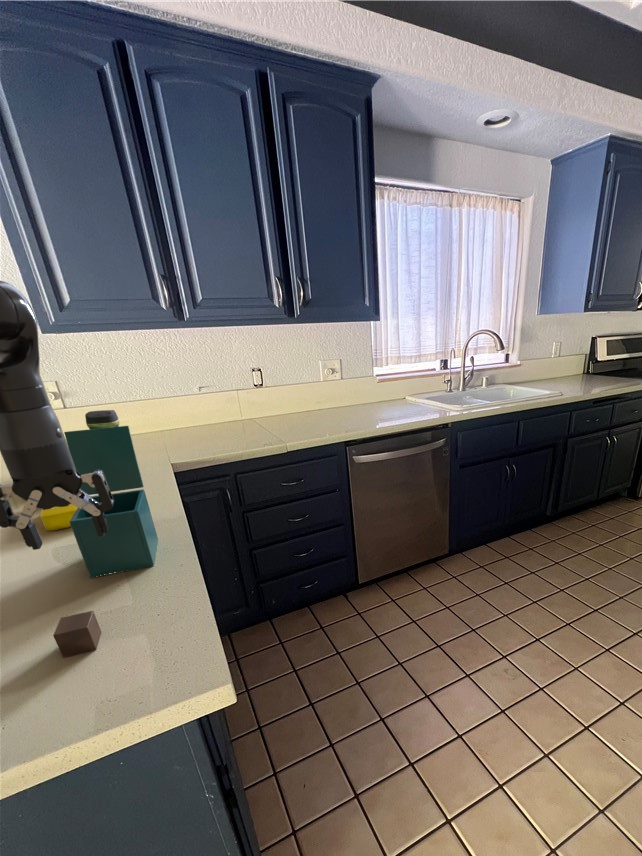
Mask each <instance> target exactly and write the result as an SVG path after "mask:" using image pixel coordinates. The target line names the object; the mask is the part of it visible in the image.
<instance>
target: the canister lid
mask: <svg viewBox="0 0 642 856" xmlns="http://www.w3.org/2000/svg"><path fill="white" fill-rule="evenodd" d="M63 434H64V437H65V439H66V440H67V444H68V447H69V451H70V453H71V456H72V459H73V462H74V465H75V468H76V470H77V471H78V472H79V473H80V474H81V475H83V474H88V473H93V472H94V471H95V470H97V469H99V470H102V471H103V474H104V476H105V478H106V481H107V483H108V486H109V488H110V491H111V492H112V493H113V492H122V491H127V490H136V489H143V488H144V482H143V477H142V474H141V470H140V466H139V462H138V458H137V454H136V450H135V446H134V441H133V438H132V433H131V430H130V425H119V427H109V428H99V429H89V428H88V429H79V430H69V431H63ZM80 489H81V490H82V491H84V492H85V493H87V494H88V495H93V494H98V493H97V490H96V488H95V487H94V488H93V487H91V486H90V485H89V484H88V483H86V482H83V484H82V486H81V488H80Z"/></svg>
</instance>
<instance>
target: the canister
mask: <svg viewBox="0 0 642 856" xmlns="http://www.w3.org/2000/svg"><path fill="white" fill-rule="evenodd" d="M112 496H113V498H114V504H113V507H112V509H111V510H107V511H105V512H104V514H105V517H106V520H107V523H108V530H107V533H105V536H104V537H98V534H97V531H96V528H95V526H94V523H93V520H92V514H90V513H89V512H87V511H85V510H84V509H80V508H77V510H76V512H75V513H74V515H73V517H72V518H71V520H70V525H71V527H70V528H71V530H72V533H73V536H74V538H75V540H76V543H77V547H78V549H79V551H80V554H81V556H82V557H81V558H82V559H83V562H84V564H85V567H86V570H87V572H88V575H89V577H90V579H93V578H92V577H95V578H97V577H96V576H100V575H104V574H109V573H114V572H120V573H122V572H121V571H125V572H127V571H126V570H130V571H133V570H132V569H135V570H139V569H138V568H140V569H144V567H145V568H150V567H154V566H155V561H156V555H157V549H158V543H159V537H158V534H157V530H156V527H155V524H154V523H155V522H154V519H153V516H152V512H151V508H150V506H149V502H148V498H147V494H146V491H145V489H144V488H141V489H134V490H129V491H120V492H115V493H112ZM91 498H92V499H94V500H95V501H97V502H98V503H100V502H101V500H100V498H99V496H93V497H91ZM149 566H150V567H149ZM100 577H101V576H100Z"/></svg>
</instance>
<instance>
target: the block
mask: <svg viewBox="0 0 642 856" xmlns="http://www.w3.org/2000/svg"><path fill="white" fill-rule="evenodd" d="M56 625H57V626H56V627H55V631H54V632H53V635H52V637H53V639H54V640H55V643H56V645H57V647H58V649H59V652H60V654H61V656H62V658H63V659H65V658H68V657H72V656H76V655H80V654H85V653H89V652H93V651H96V650H97V649H98V646H99V642H100V638H101V635H102V630H101V627H100V624H99V622H98V619H97V617H96V614H95V611H94V610H90V611H89V610H88V611H85V612H80V613H76V614H75V613H74V614H71V615H67V616H62V617H60V619H59V620H58V623H57V624H56Z"/></svg>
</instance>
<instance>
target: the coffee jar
mask: <svg viewBox="0 0 642 856" xmlns="http://www.w3.org/2000/svg"><path fill="white" fill-rule="evenodd" d="M84 415H85V416H84V417H85V424H86V426H87V428H88V429H99V428H109V427H119V426H120V419H119V416H118V414H117V412H116V411H115V410H114V409H104V410H92V411H88V412H86V413H85V414H84Z"/></svg>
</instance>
